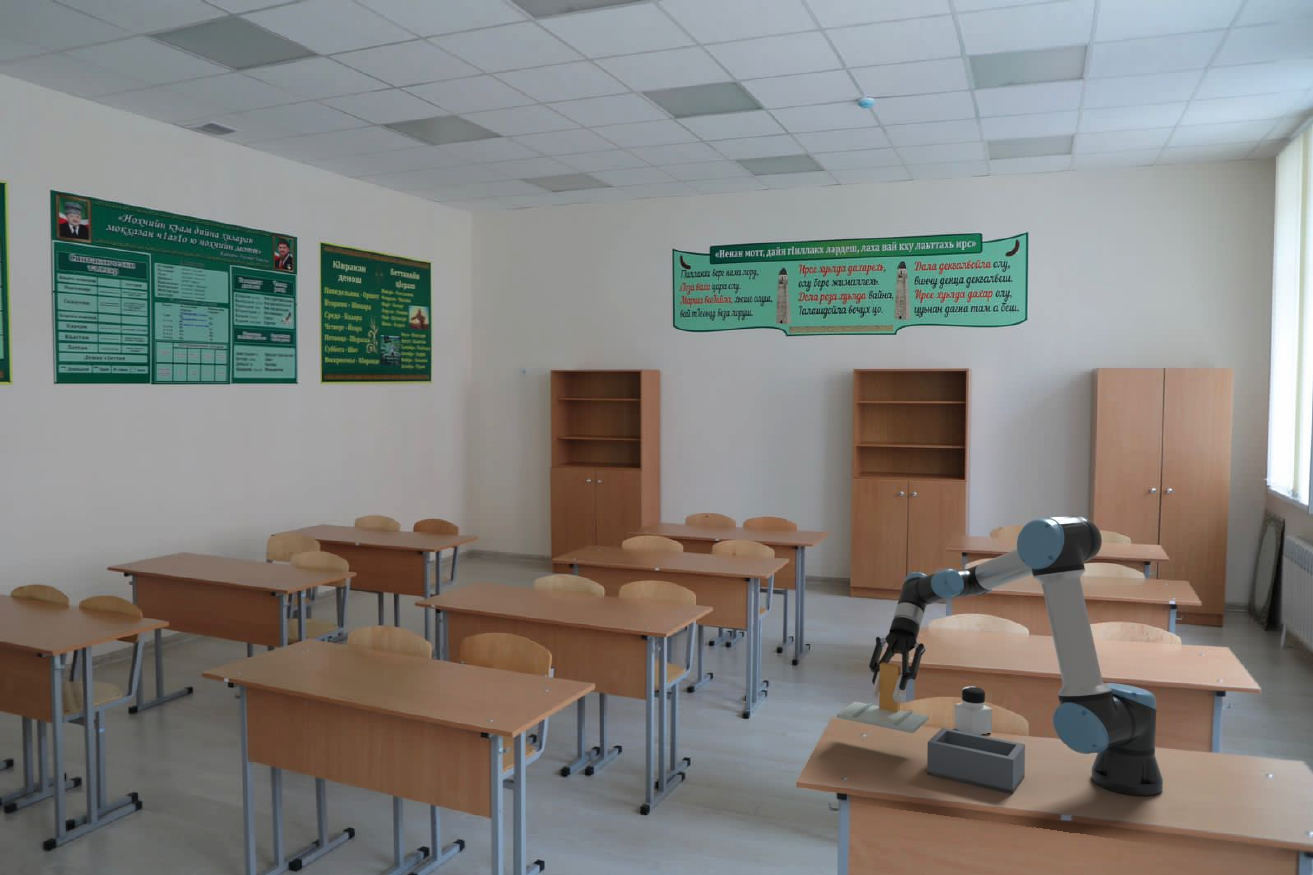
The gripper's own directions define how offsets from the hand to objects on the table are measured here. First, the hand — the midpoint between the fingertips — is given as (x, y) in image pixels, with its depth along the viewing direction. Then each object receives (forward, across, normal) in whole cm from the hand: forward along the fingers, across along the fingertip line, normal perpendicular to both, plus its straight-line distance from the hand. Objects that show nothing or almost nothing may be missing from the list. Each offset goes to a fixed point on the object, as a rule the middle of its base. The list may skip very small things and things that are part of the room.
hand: (884, 697), depth 240 cm
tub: (+13, -25, -6) cm, 29 cm away
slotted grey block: (+5, 0, -3) cm, 5 cm away
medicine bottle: (-9, -16, -28) cm, 33 cm away
